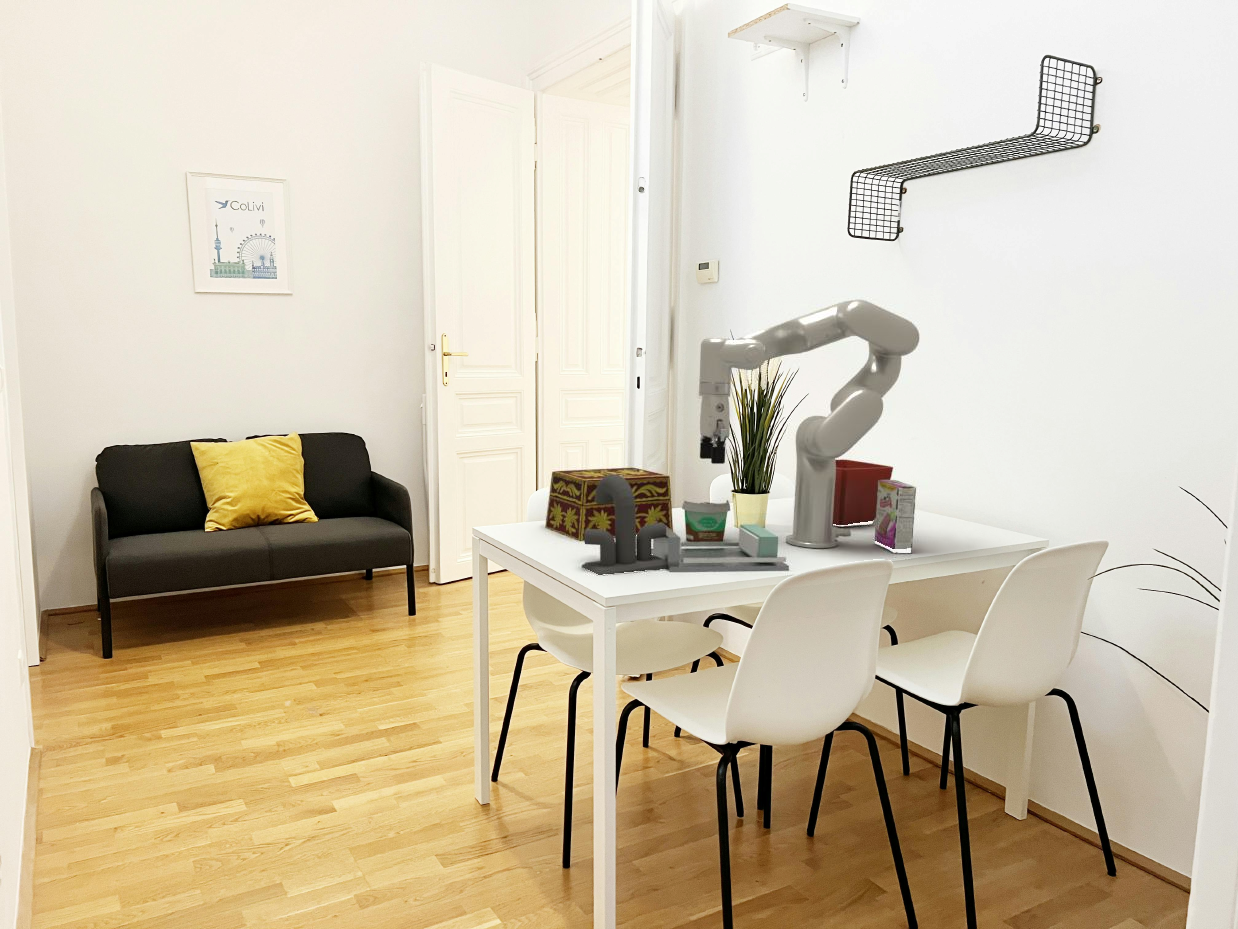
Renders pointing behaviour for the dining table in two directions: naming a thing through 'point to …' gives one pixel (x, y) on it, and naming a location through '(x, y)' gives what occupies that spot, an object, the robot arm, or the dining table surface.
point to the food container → (705, 521)
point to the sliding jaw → (757, 541)
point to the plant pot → (857, 490)
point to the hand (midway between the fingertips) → (711, 460)
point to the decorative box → (579, 510)
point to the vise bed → (709, 556)
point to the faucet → (623, 533)
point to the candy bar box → (895, 514)
